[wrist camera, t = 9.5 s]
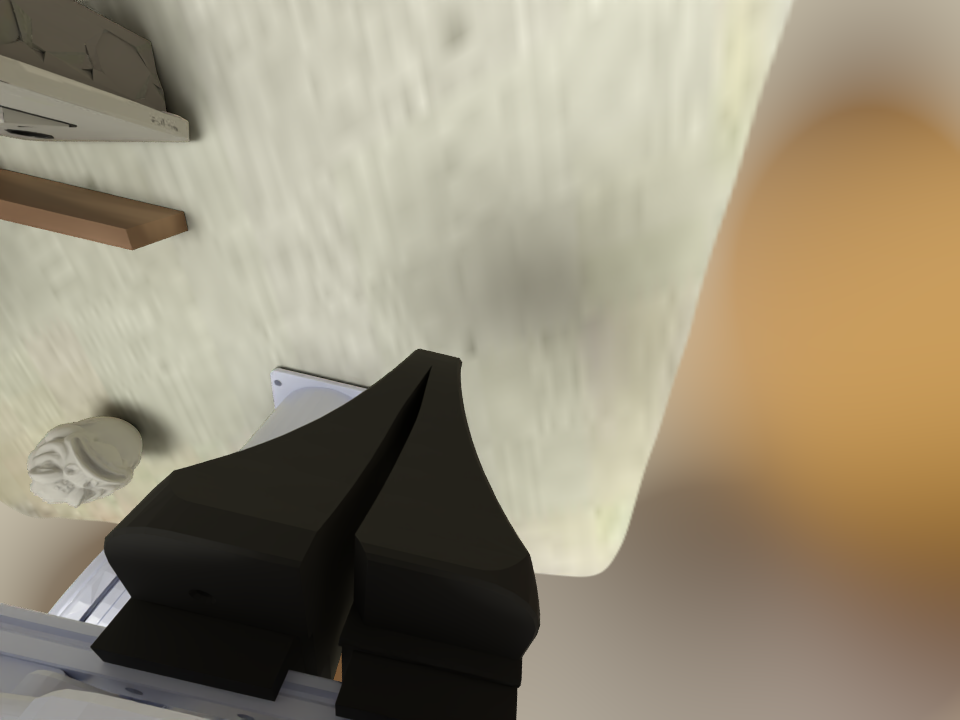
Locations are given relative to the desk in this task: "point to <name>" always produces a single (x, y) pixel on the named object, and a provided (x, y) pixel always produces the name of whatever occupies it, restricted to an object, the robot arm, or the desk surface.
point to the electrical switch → (78, 78)
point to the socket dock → (85, 212)
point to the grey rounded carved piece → (84, 460)
